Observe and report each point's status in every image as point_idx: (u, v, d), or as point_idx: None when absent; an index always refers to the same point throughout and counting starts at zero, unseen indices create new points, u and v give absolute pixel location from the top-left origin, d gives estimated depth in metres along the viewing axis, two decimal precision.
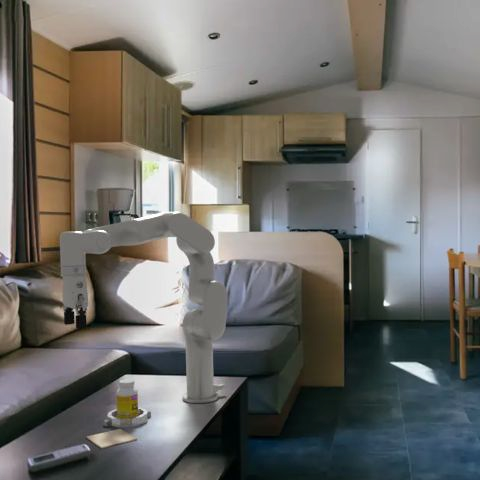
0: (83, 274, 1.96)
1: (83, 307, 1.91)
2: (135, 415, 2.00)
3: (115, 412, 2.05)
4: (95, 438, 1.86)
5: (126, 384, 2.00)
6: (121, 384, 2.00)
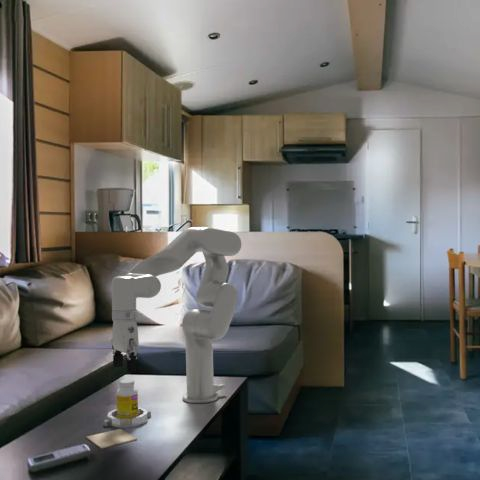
0: (134, 318, 1.99)
1: (135, 352, 1.94)
2: (135, 415, 2.00)
3: (115, 412, 2.05)
4: (95, 438, 1.86)
5: (126, 384, 2.00)
6: (121, 384, 2.00)
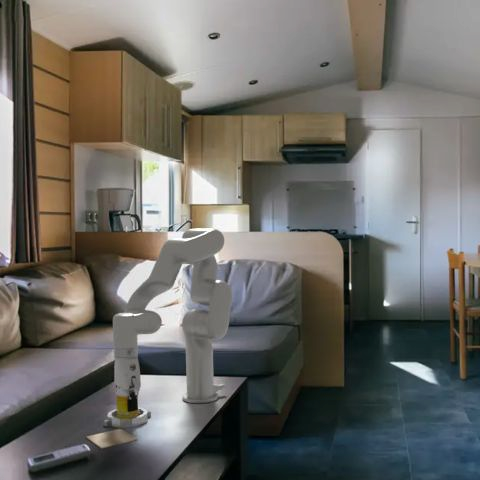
0: (135, 356, 2.00)
1: (135, 392, 1.96)
2: (135, 415, 2.00)
3: (115, 412, 2.05)
4: (95, 438, 1.86)
5: None
6: None
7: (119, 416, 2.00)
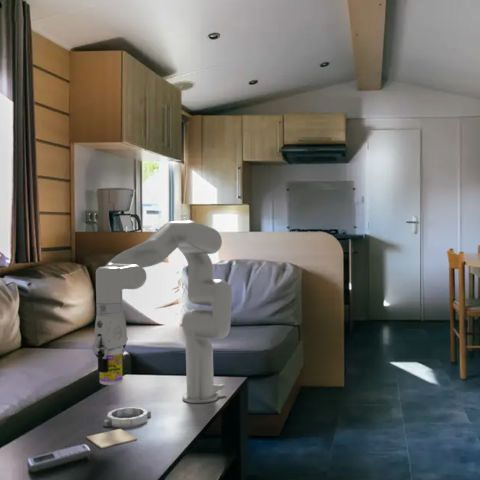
0: (108, 313, 1.83)
1: (94, 351, 1.81)
2: (108, 377, 1.84)
3: (115, 412, 2.05)
4: (95, 438, 1.86)
5: None
6: None
7: None
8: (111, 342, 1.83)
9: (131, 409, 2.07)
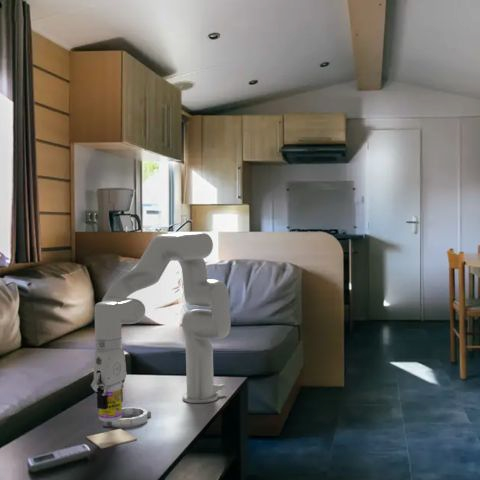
0: (107, 350, 1.81)
1: (94, 389, 1.79)
2: (107, 414, 1.82)
3: None
4: (95, 438, 1.86)
5: None
6: None
7: None
8: (110, 379, 1.81)
9: (131, 409, 2.07)
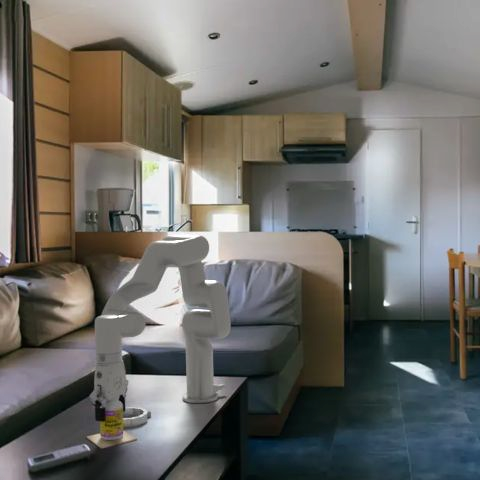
0: (108, 363, 1.82)
1: (92, 400, 1.78)
2: (109, 433, 1.83)
3: None
4: (95, 438, 1.86)
5: None
6: None
7: None
8: (111, 392, 1.82)
9: (131, 409, 2.07)
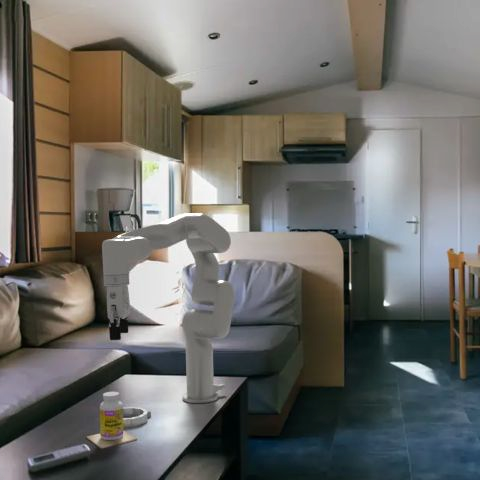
0: (120, 284, 1.88)
1: (110, 319, 1.84)
2: (109, 433, 1.83)
3: None
4: (95, 438, 1.86)
5: (103, 397, 1.85)
6: None
7: None
8: (124, 312, 1.89)
9: (131, 409, 2.07)
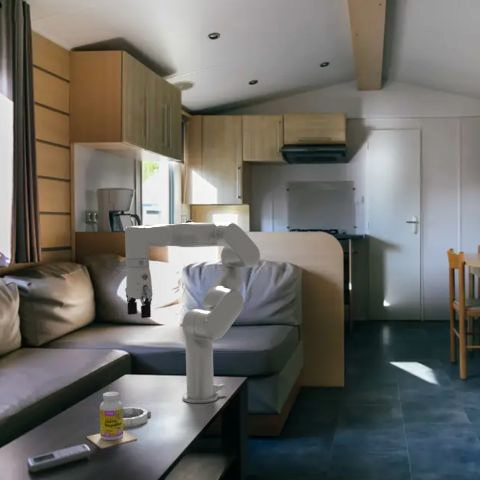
0: (147, 266, 2.06)
1: (149, 297, 2.01)
2: (109, 433, 1.83)
3: None
4: (95, 438, 1.86)
5: (103, 397, 1.85)
6: None
7: None
8: None
9: (131, 409, 2.07)
